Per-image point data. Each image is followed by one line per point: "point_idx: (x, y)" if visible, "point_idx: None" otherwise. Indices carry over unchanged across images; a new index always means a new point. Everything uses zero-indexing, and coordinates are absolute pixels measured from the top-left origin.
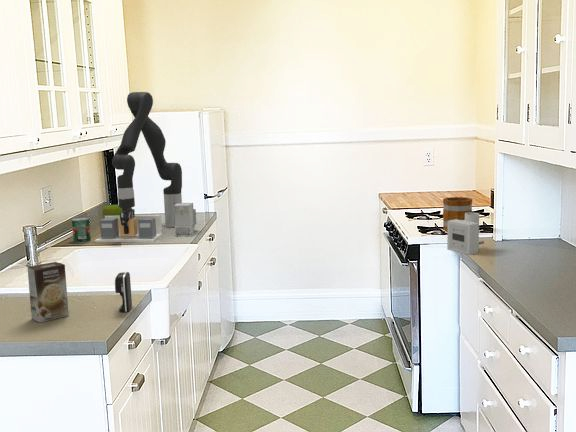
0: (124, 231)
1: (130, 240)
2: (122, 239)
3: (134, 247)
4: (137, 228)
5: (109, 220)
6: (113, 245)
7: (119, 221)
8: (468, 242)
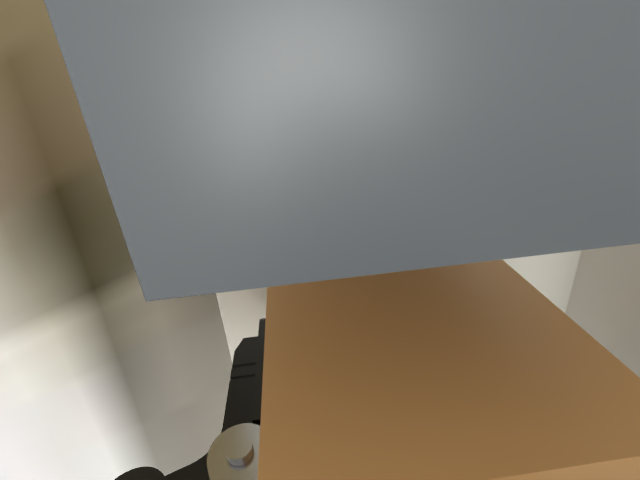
0: (236, 359)
1: (230, 347)
2: None
3: (13, 462)
4: (631, 327)
5: (62, 38)
6: (2, 231)
7: (266, 448)
8: None
